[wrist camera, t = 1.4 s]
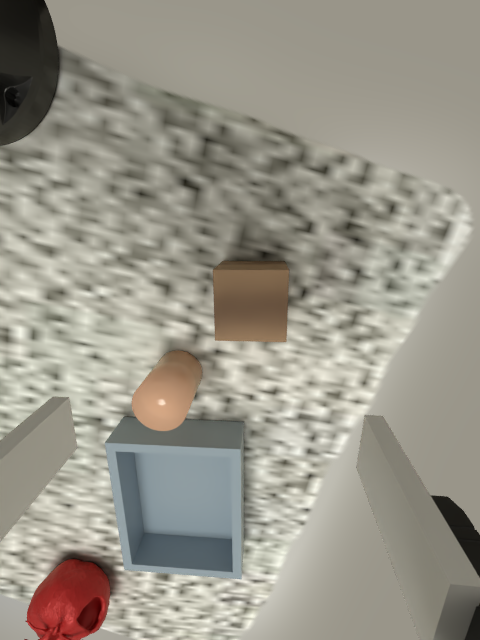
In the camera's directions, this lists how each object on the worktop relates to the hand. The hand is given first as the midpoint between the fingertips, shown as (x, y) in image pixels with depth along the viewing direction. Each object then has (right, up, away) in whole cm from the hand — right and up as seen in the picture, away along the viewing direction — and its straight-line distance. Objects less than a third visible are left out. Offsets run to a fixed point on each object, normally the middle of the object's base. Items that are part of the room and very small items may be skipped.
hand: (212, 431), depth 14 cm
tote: (-5, -15, +25) cm, 30 cm away
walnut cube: (+3, +8, +18) cm, 19 cm away
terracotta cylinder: (-5, -1, +21) cm, 21 cm away
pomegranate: (-21, -32, +32) cm, 50 cm away
